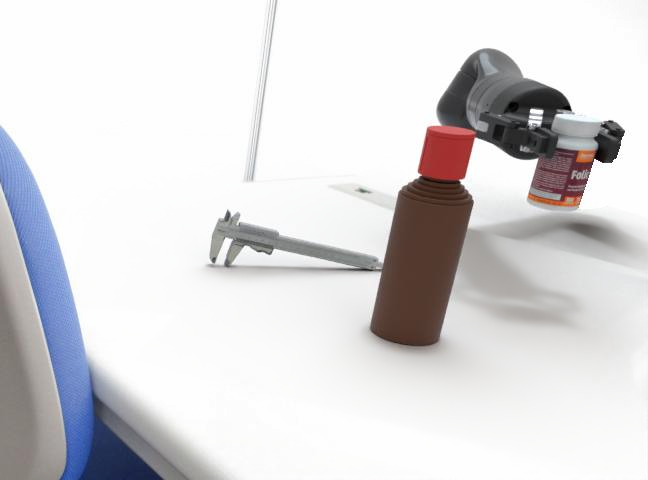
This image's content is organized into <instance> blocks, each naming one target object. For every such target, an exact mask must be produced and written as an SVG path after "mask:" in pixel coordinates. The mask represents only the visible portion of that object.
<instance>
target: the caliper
mask: <svg viewBox="0 0 648 480" xmlns="http://www.w3.org/2000/svg"><path fill="white" fill-rule="evenodd" d="M240 218H241V213H240V212H239V211H236V213H234V214H233V215H232V213H231V211H230V210H229V209H228V208H227V209H226V213H225V215H224V218H222V217H218V219H217V221H216V224H215V227H214V228H213V231H212V234H211V241H210V249H209V260H210V262H211V263H212V264H214V265H215V264H216V262H217V260H218V257H219V254H220V252H221V249H222V246H223V244H224V242H225V239H226V238H227V239H228V240H229V239H230V240H231V242H230V245H229V247H228V250H227V252H226V254H225V259H224V262H223V263H224V266H225V267H230V266H231V265H232V264H233V263H234V261H235V260H236V258H237V257H238V256H239V254H240V253H241V251H242V250H243V249H244V247H245V246H246V247H249V248H250V249H251V250H253V251H255V252H256V253H264V254H266V255H268V256H271V255H272V254H273V252H274V250H279V251H283V252H287V253H292V254H297V255H302V256H305V257H310V258H315V259H319V260H323V261H324V260H325V261H327V262H334V263H337V264H342V265H347V266H350V267H355V268H359V269H364V270H368V271H373V270H374V271H375V270H376V268H380V269H382V267H383V263H384V261H383V262H382V261H379V258H378V257H377V256H375V255H372V254H366V253H363V252H358V251H353V250H350V249H345V248H340V247H336V246H333V245H327V244H323V243H318V242H314V241H309V240H305V239H300V238H295V237H292V236H287V235H282V234H280V232H279V231H278V230H277V229H274V228H269V227H266V226H265V227H264V226H260V225H256V224H252V223H249V222H244V221H239V220H240ZM374 271H373V272H374Z"/></svg>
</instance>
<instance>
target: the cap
mask: <svg viewBox="0 0 648 480" xmlns="http://www.w3.org/2000/svg"><path fill="white" fill-rule="evenodd" d="M425 130H426V131H425V135H424V139H423V144H422V149H421V153H420V158H419V164H418V167H417V171H416V172H417V174H418V175H420V176H421V175H423V176H426V177H430V178H435V179H442V180H459V181H461V180H464V179H466V176H467V173H468V167H469V164H470V159H471V156H472V151H473V147H474V143H475V139H476V138H475V136H476V132H474V131H472V130H469V129H464V128H459V127H452V126H441V125H429V126H427V127H426V129H425Z"/></svg>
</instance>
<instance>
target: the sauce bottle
mask: <svg viewBox="0 0 648 480" xmlns="http://www.w3.org/2000/svg"><path fill="white" fill-rule="evenodd" d="M474 204H475V201H474V199H473V195H472V194H471V193H470V192H469V190H468V189H467V188H466V187H465V185H464V184H462V181H461V180H442V179H435V178H430V177H426V176H423V175H421V174H420V175H419V176H418V178H417V177H416V178H414V179H413V180H412V181H409V182H408V183H407V184H405V185H403V186H402V187H401V189H399V191H398V193H397V197H396V201H395V207H394V211H393V216H392V221H391V225H390V230H389V234H388V240H387V244H386V249H385V253H384V259H383V267H382V268H381V273H380V278H379V281H378V287H377V291H376V297H375V301H374V306H373V310H372V314H371V319H370V323H369V324H370V325H369V328H370V330H371V332H372V333H374V335H376V336H378V337H379V338H382V339H384V340H387V341H389V342H393V343H395V344H396V343H397V344H401V343H402V344H401V345H406V344H407V346H429V345H434V344H435V343H437V342H438V341H439V340H440V338H441V335H442V334H441V333H442V329H443V326H444V322H445V318H446V314H447V310H448V306H449V302H450V298H451V295H452V291H453V287H454V282H455V279H456V274H457V271H458V267H459V264H460V263H459V262H460V259H461V255H462V251H463V247H464V244H465V239H466V236H467V231H468V227H469V224H470V219H471V216H472V211H473V208H474Z"/></svg>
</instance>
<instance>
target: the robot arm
mask: <svg viewBox="0 0 648 480" xmlns="http://www.w3.org/2000/svg"><path fill="white" fill-rule="evenodd" d="M457 71H458V72H457V73H456V74H455V76H454V77H453V78H452V80H451V82H450V83H449V84H448V85H447V88H446V89H445V91H444V92H443V94H442V95H441V97H440V98H439V100H438V102H437V104H436V107H435V114H436V118H437V121H438V123H439V124H440V126H452V127H459V128H464V129H469V130H472V131H474V132H476V136H475V139H478V140H481V141H484V142H486V143H489V144H492V145H493V146H495V147H496V148H498V150H501V151H502V152H503V153H505V154H507V155H508V156H510V157H511V158H513V159H517V160H521V161H533V160H538V158H539V156H540V157H542V158H546V159H552V158H553V156H554V153H555V149H556V146H557V143H558V138H559V137H558V134H556V133H554V132H553V131H552V130H551V128H552V124H553V121H554V118H555V115H557V114H574V115H575V113H576V112H574V111H573V109H572V106H571V103H570V101H569V100H568V97H567V96H565V94H564V93H563V92H561V91H560V90H558V89H556V88H554V87H552V86H549V85H547V84H545V83H542V82H540V81H537V80H535V79H532V78H528V77H524V74H523V72H522V70H521V69H520V67H519V64H517V62H516V61H515V60H514V59H513V58H512V57H511V56H509V55H508V54H507V53H505V52H503V51H501V50H499V49H496V48H492V47H491V48H490V47H484V48H480V49H478V50H476V51H474V52H473V53H471V54H470V55H469V56H468V57H467V58H466V59H465V60H464V62H463V63H462V65H461V66H460V68H459V70H457ZM625 130H626V129H624V128H623V127H622V126H621V125H620V124H619V123H618V122H616V121H614V120H613V119H608V120H603V122H602V123H601V126H600V130H599V133H598V135H597V136H595V137H594V140H595V141H596V142H597V143H598V150H597V153H596V156H595V159H596V160H598V161H600V162H602V163H612V162H613V160H614V159H616V158H617V155H618V152H619V149H620V146H621V140H622V137H623V136H624V133H625Z"/></svg>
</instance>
